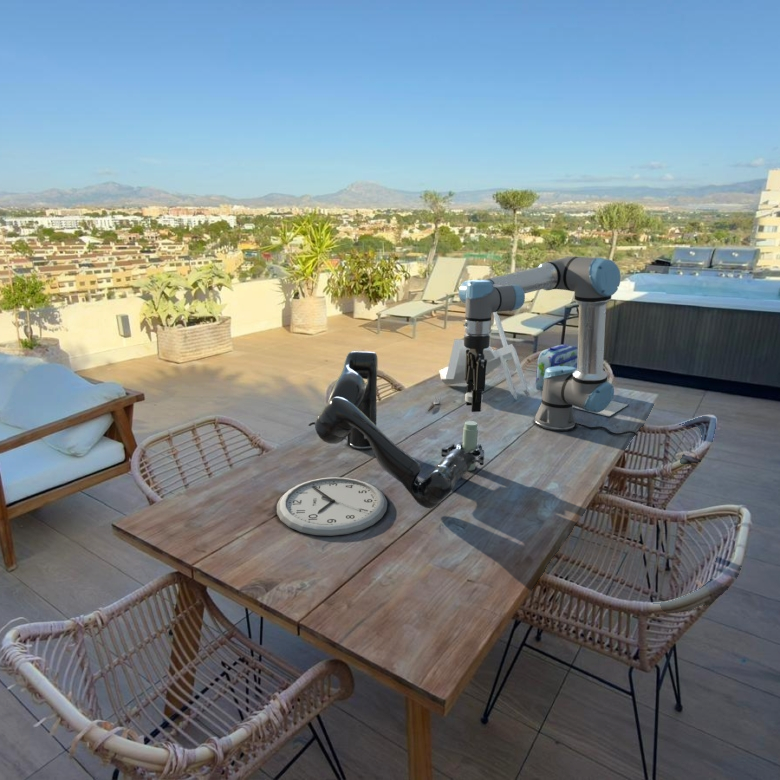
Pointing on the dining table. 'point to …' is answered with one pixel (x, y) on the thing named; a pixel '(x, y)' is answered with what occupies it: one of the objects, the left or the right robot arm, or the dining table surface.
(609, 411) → the invitation card
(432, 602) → the dining table surface
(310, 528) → the wall clock
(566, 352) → the lunch box
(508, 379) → the white plastic object
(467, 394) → the lid
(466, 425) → the pale green cylinder
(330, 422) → the left robot arm
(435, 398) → the fork
